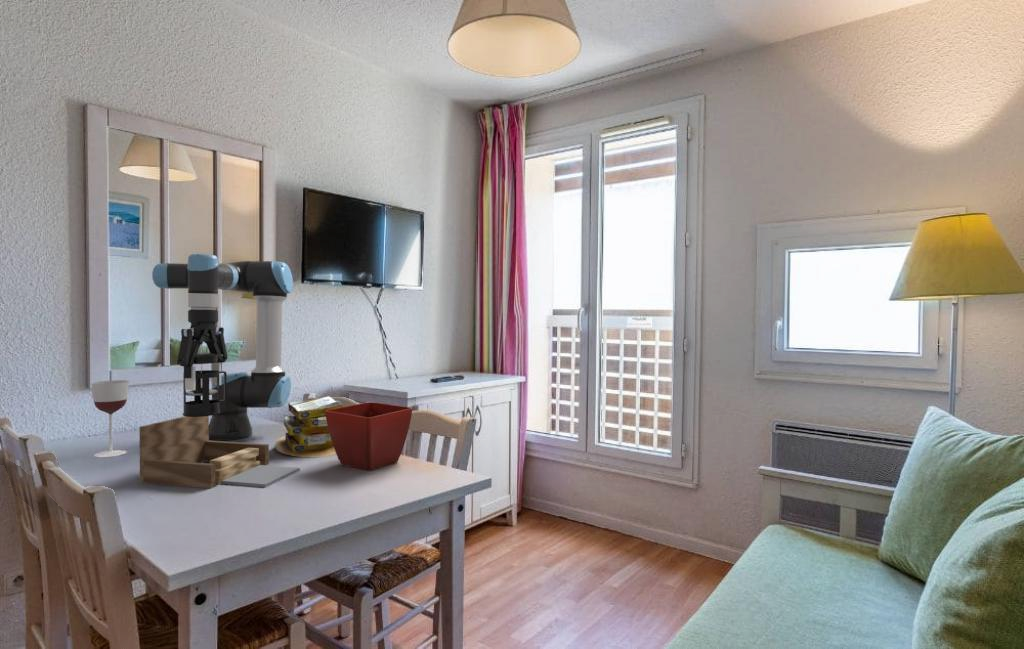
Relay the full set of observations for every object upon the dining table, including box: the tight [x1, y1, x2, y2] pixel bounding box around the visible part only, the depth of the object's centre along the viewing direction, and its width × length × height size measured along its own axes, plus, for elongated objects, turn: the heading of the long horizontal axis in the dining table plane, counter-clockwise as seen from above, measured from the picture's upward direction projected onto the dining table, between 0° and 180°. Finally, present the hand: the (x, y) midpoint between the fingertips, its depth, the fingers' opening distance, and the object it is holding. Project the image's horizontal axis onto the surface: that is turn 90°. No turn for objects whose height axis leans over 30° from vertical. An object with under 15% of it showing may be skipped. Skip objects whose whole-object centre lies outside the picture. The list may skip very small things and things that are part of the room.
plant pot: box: [325, 401, 413, 471], centre depth 172 cm, size 19×19×17 cm
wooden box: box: [139, 416, 270, 489], centre depth 160 cm, size 24×22×15 cm
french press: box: [182, 334, 228, 417], centre depth 160 cm, size 12×9×23 cm
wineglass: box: [91, 379, 130, 458], centre depth 180 cm, size 9×10×23 cm
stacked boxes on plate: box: [274, 396, 345, 458], centre depth 190 cm, size 25×25×17 cm
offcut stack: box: [209, 448, 260, 486], centre depth 158 cm, size 18×5×6 cm, turn 170°
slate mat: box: [221, 464, 301, 488], centre depth 157 cm, size 16×13×1 cm
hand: (203, 387), depth 160 cm, fingers closed on french press, 9 cm apart
